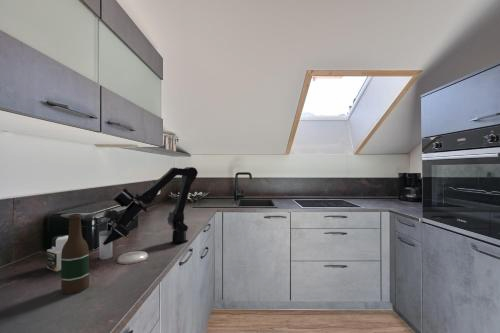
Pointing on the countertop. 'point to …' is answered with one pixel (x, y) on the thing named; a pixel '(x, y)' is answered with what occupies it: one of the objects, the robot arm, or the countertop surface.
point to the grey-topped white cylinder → (105, 249)
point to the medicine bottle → (56, 252)
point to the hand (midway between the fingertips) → (102, 242)
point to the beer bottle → (74, 259)
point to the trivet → (132, 257)
